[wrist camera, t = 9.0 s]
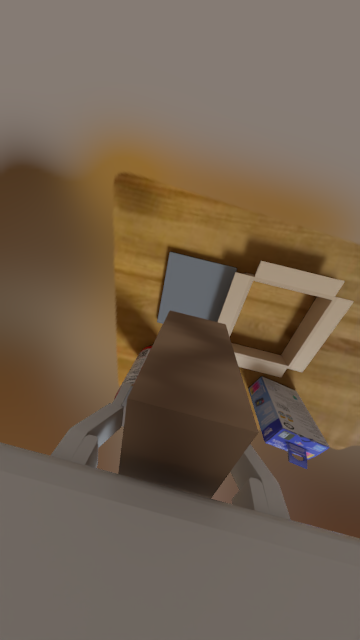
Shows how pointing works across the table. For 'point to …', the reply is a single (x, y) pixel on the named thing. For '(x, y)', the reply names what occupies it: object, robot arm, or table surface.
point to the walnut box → (187, 409)
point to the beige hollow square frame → (311, 328)
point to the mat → (195, 287)
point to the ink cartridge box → (286, 421)
